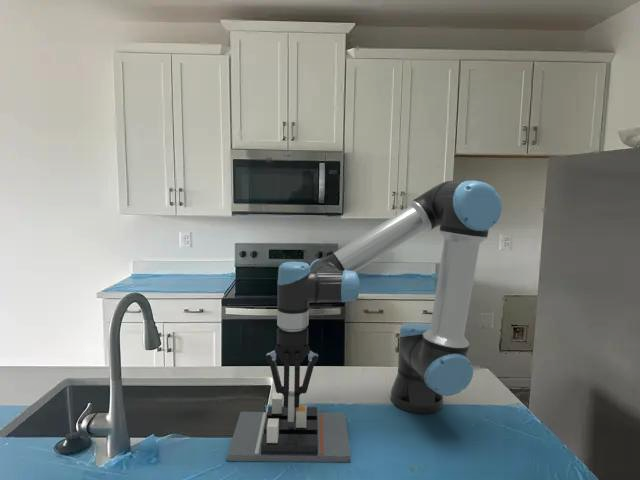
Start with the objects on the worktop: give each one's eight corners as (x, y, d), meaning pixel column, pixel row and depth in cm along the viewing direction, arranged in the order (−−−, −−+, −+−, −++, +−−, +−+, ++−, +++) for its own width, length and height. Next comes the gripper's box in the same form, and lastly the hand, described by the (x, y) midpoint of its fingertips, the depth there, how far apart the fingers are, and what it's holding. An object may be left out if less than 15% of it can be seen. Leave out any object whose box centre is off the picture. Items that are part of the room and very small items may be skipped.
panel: (344, 418, 120) (344, 405, 119) (350, 462, 101) (351, 447, 101) (240, 416, 119) (240, 404, 119) (227, 461, 100) (227, 446, 100)
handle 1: (282, 406, 118) (282, 392, 117) (281, 413, 114) (281, 399, 114) (273, 406, 118) (273, 392, 117) (271, 413, 114) (271, 398, 114)
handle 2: (278, 434, 105) (278, 418, 104) (277, 443, 101) (277, 426, 101) (268, 434, 105) (268, 418, 104) (266, 442, 101) (266, 426, 101)
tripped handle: (306, 420, 111) (306, 404, 111) (306, 427, 108) (306, 411, 107) (296, 420, 111) (296, 404, 111) (295, 427, 108) (296, 411, 107)
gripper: (319, 322, 110) (317, 411, 113) (267, 321, 110) (266, 410, 113) (320, 332, 103) (317, 427, 106) (263, 331, 103) (263, 426, 106)
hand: (291, 418), depth 109 cm, fingers closed
